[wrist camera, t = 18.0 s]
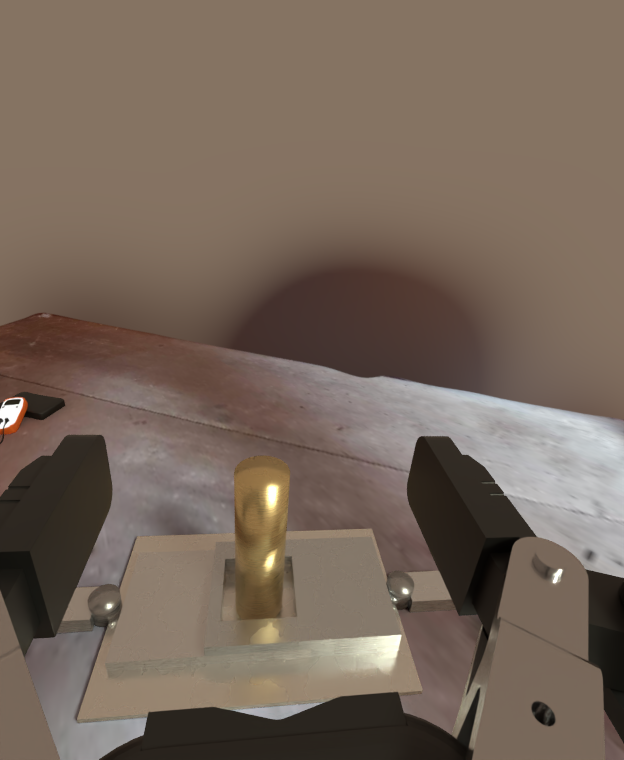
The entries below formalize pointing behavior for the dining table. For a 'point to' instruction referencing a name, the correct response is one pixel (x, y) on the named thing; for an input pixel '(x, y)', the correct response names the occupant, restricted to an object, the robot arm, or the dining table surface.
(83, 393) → the dining table surface
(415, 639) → the dining table surface
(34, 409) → the multimeter
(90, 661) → the dining table surface
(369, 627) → the peg-in-hole plate
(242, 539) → the pin
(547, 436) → the dining table surface
